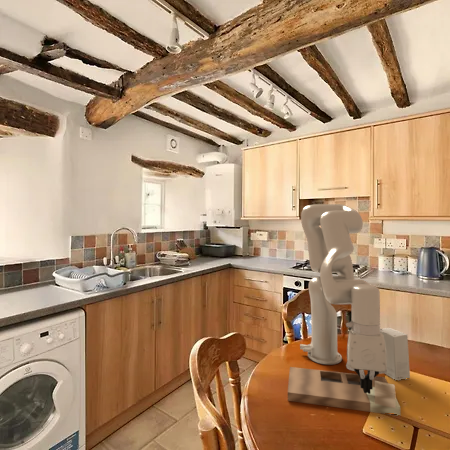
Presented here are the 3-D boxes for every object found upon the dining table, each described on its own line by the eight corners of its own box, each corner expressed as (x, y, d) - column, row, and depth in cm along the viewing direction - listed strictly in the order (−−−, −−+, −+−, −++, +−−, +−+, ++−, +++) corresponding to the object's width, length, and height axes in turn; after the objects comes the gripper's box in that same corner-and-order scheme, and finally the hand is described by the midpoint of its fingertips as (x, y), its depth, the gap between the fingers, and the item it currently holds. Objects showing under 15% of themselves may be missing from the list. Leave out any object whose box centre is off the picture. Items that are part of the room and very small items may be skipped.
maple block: (374, 403, 83) (374, 389, 83) (374, 394, 87) (374, 380, 87) (395, 408, 80) (395, 393, 80) (394, 398, 85) (394, 384, 85)
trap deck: (287, 400, 89) (287, 392, 89) (290, 374, 104) (289, 366, 104) (400, 415, 81) (400, 406, 81) (384, 384, 97) (384, 377, 97)
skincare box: (410, 379, 100) (409, 335, 100) (395, 381, 98) (394, 336, 98) (391, 367, 108) (390, 326, 108) (376, 369, 107) (376, 328, 106)
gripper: (339, 330, 85) (340, 394, 85) (398, 334, 81) (398, 402, 81) (336, 321, 92) (337, 381, 92) (390, 325, 88) (391, 387, 88)
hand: (366, 390), depth 87 cm, fingers closed
